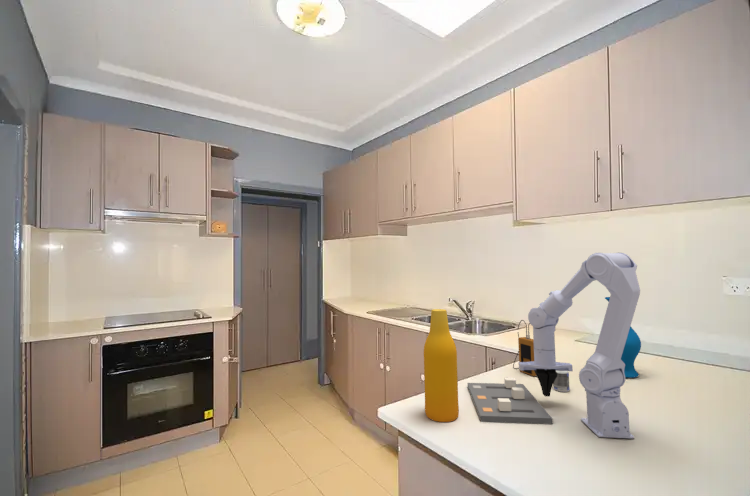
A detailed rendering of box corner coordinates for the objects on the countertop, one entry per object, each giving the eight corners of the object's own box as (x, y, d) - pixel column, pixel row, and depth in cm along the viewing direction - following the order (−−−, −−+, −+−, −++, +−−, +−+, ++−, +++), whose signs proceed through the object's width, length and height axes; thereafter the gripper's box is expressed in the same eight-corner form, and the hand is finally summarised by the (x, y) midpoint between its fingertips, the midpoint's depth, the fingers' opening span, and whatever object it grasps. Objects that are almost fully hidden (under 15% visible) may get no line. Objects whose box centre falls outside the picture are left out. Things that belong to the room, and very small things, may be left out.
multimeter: (562, 376, 128) (560, 321, 129) (542, 380, 124) (539, 323, 125) (531, 366, 141) (529, 316, 142) (512, 369, 138) (510, 318, 139)
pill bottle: (571, 392, 112) (570, 366, 112) (555, 391, 113) (554, 365, 113) (566, 387, 116) (565, 362, 117) (551, 386, 117) (550, 361, 118)
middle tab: (524, 399, 102) (524, 390, 103) (513, 398, 103) (513, 390, 103) (522, 396, 105) (521, 387, 105) (511, 395, 105) (511, 387, 105)
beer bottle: (463, 412, 98) (460, 308, 100) (452, 425, 90) (449, 313, 92) (432, 406, 103) (429, 307, 105) (419, 418, 95) (417, 311, 97)
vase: (610, 378, 124) (606, 299, 125) (597, 368, 136) (593, 296, 138) (650, 380, 121) (645, 299, 123) (632, 370, 133) (628, 296, 135)
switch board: (552, 424, 90) (552, 417, 90) (480, 421, 93) (480, 415, 93) (523, 388, 116) (522, 383, 116) (467, 387, 118) (467, 382, 118)
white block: (511, 411, 94) (510, 401, 94) (499, 410, 95) (499, 401, 95) (509, 407, 97) (508, 398, 97) (497, 407, 97) (497, 398, 97)
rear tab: (516, 388, 111) (515, 380, 112) (506, 388, 112) (506, 380, 112) (514, 385, 114) (513, 378, 114) (504, 385, 114) (504, 377, 114)
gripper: (564, 345, 107) (566, 390, 106) (515, 345, 108) (516, 389, 108) (574, 351, 100) (577, 399, 99) (521, 350, 101) (523, 398, 101)
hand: (546, 395), depth 103 cm, fingers closed
